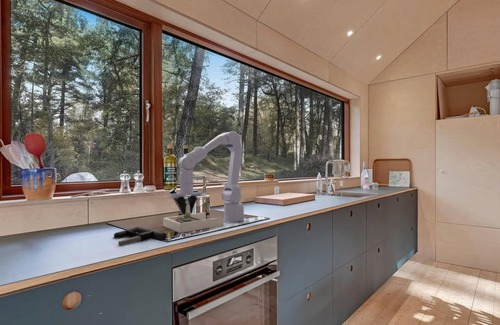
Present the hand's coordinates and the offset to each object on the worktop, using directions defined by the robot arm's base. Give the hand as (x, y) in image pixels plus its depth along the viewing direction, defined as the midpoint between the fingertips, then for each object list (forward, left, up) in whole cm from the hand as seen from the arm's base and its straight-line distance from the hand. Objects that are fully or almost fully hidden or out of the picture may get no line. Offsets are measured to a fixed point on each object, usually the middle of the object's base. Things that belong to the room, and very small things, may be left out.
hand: (186, 213), depth 129 cm
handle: (0, 0, -2) cm, 2 cm away
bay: (-3, 0, -6) cm, 7 cm away
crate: (0, 0, -6) cm, 6 cm away
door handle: (+24, +6, -7) cm, 26 cm away
